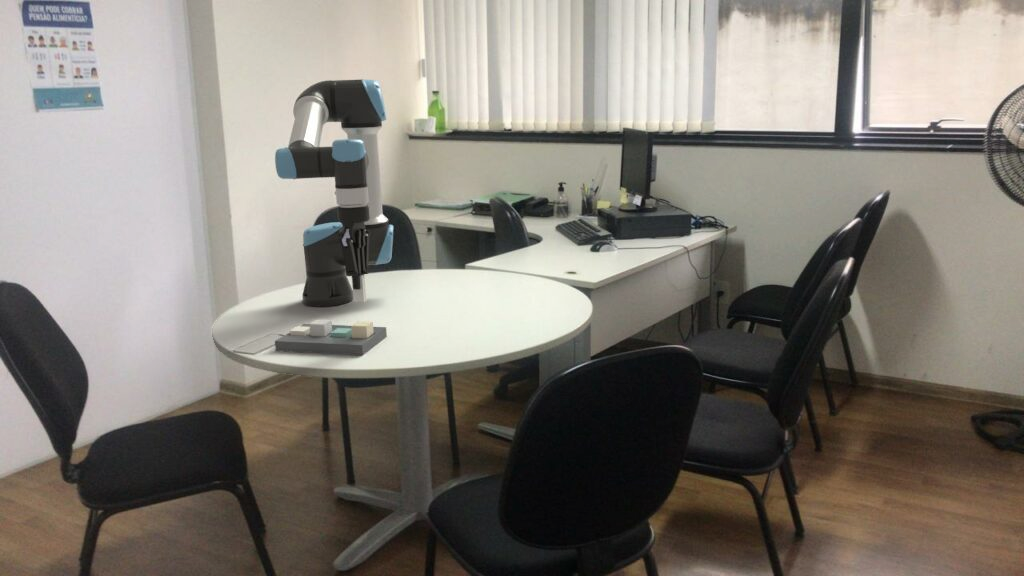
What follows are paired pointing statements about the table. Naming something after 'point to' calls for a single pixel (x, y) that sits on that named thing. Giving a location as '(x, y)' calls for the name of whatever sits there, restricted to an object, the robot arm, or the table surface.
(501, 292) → the table surface
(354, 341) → the keypad
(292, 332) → the key
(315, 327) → the key
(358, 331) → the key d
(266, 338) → the smartphone
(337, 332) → the key
